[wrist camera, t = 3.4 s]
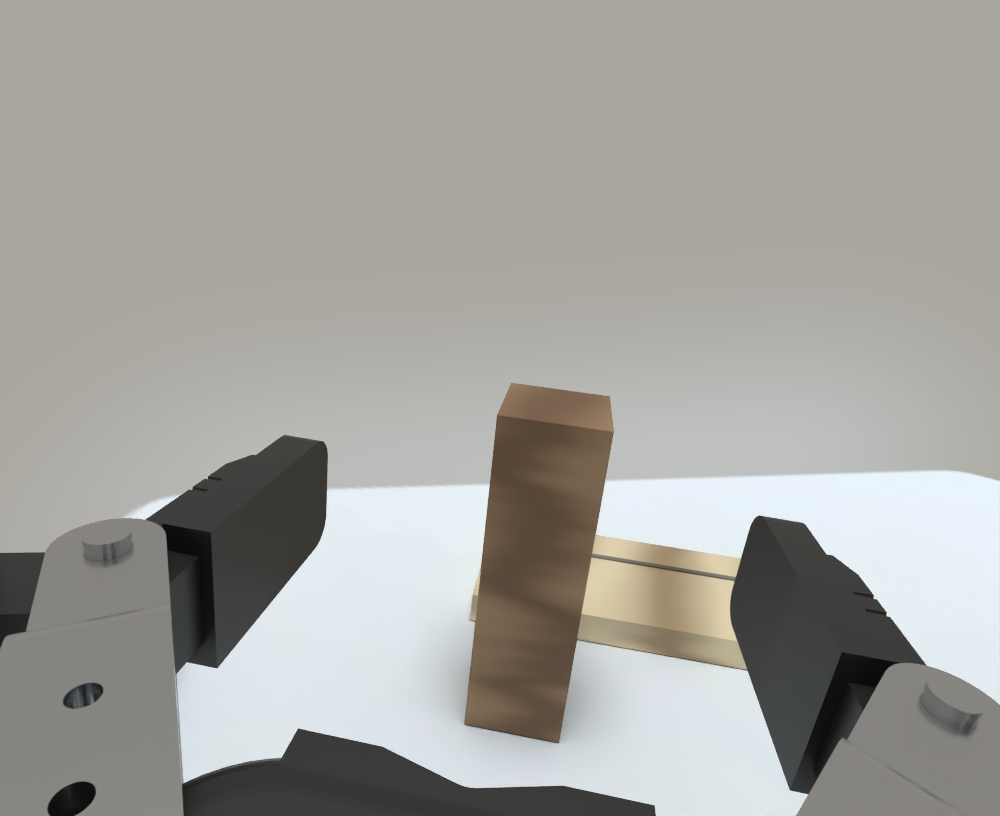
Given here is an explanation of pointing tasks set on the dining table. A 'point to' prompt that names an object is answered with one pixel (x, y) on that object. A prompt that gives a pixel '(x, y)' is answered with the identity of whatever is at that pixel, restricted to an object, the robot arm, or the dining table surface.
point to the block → (536, 556)
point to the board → (658, 601)
